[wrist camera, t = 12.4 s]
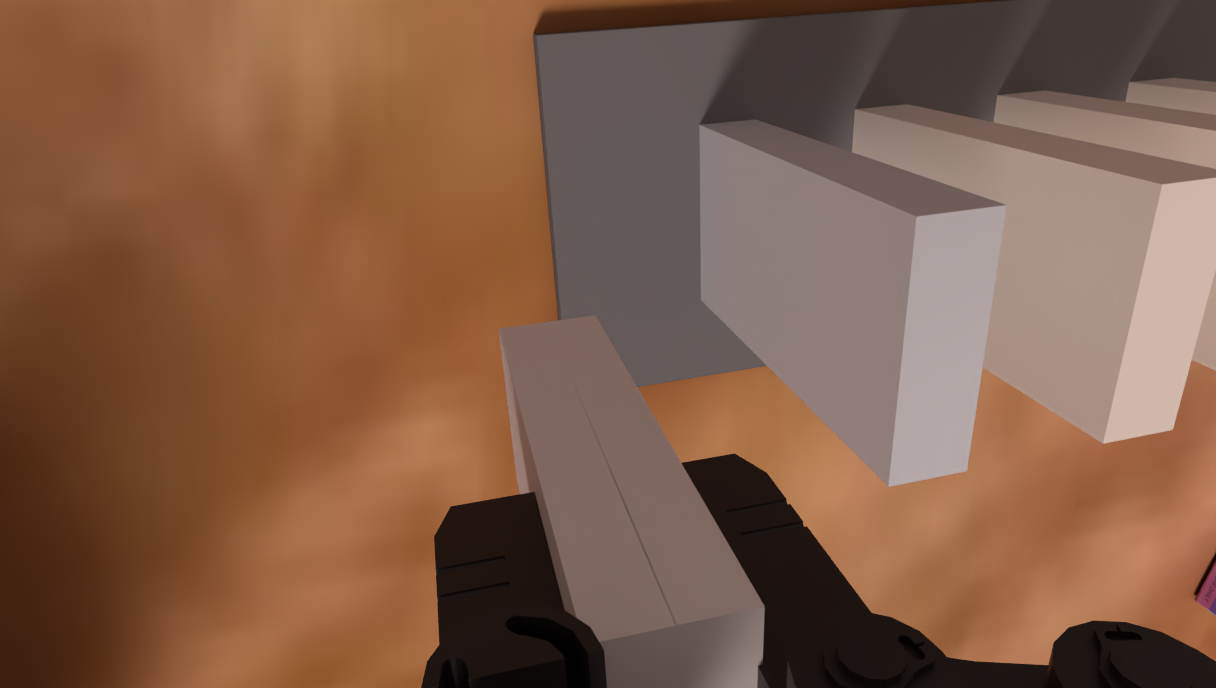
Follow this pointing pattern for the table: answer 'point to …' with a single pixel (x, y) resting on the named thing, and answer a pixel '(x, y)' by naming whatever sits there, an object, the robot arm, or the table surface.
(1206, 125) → the domino
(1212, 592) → the box
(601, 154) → the mat
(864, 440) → the domino
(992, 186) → the domino
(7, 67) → the table surface
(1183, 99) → the domino
